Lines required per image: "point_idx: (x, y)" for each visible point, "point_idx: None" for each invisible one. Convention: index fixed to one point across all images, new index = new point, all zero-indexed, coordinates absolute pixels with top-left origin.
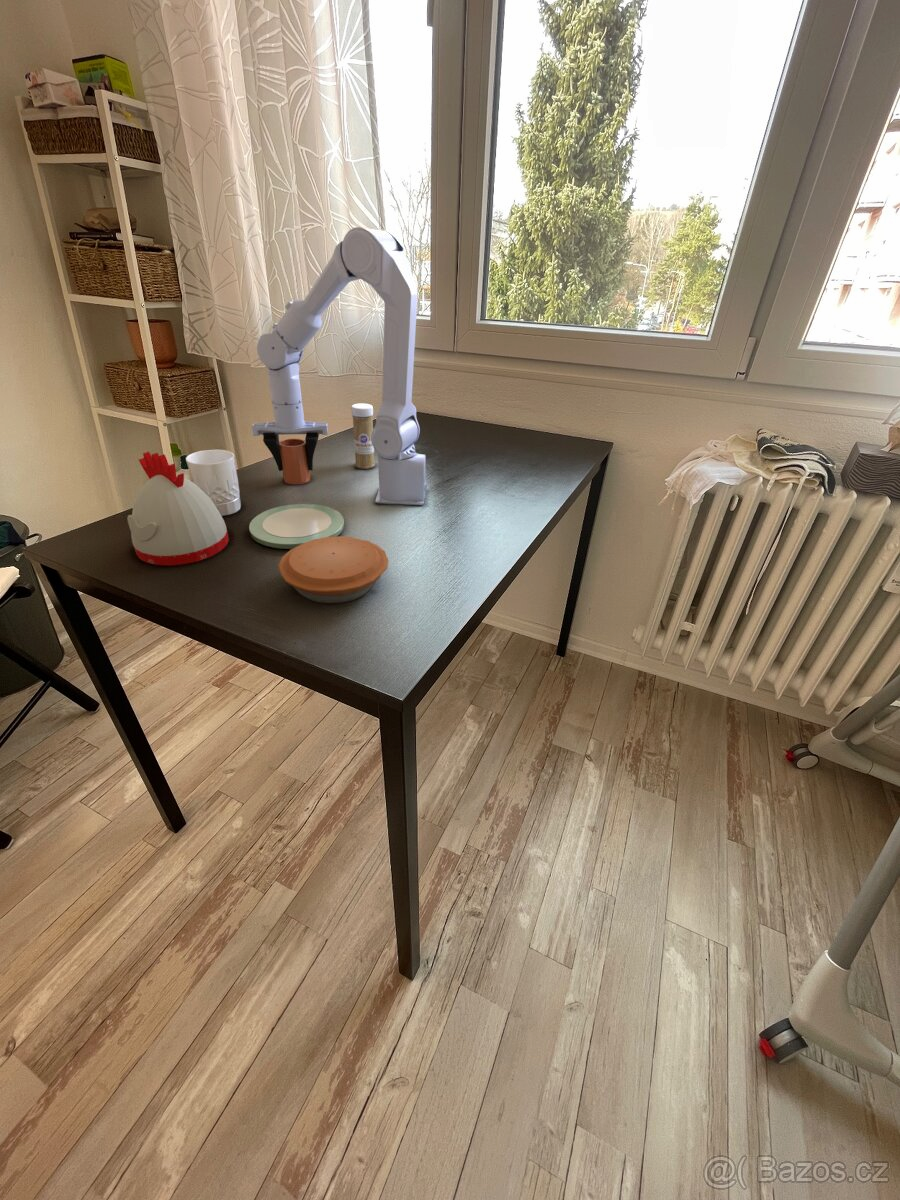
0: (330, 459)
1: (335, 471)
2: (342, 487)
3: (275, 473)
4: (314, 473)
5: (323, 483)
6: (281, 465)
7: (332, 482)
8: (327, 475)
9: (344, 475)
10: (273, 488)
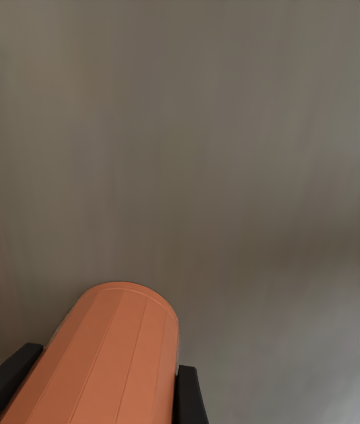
0: (349, 54)
1: (310, 269)
2: (285, 416)
3: (19, 235)
4: (204, 273)
5: (225, 375)
6: None
7: (261, 374)
8: (259, 307)
9: (335, 322)
10: None
